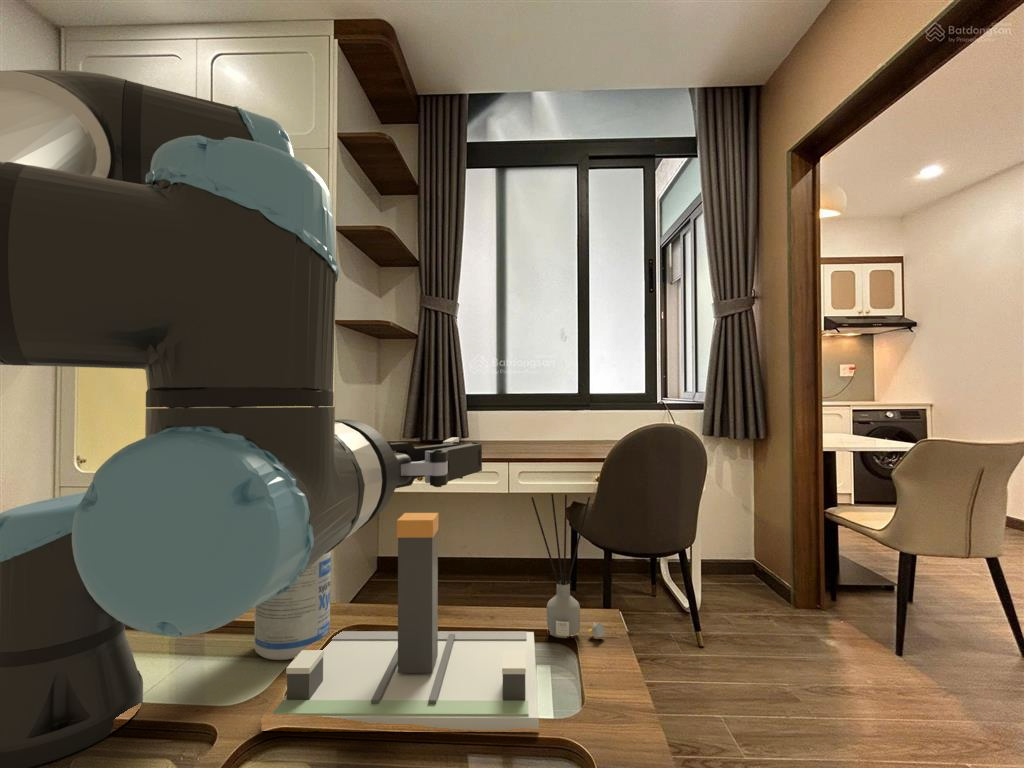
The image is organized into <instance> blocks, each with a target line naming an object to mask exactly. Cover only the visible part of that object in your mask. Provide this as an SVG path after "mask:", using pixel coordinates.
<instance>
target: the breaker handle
mask: <svg viewBox="0 0 1024 768" xmlns="http://www.w3.org/2000/svg"><path fill="white" fill-rule="evenodd" d="M439 519H440V518H439V512H404V513H402V515H401V516H400V517H399V518H398V519H396V538H397V631H398V673H432V672H433V669H434V666H435V663H436V660H437V657H438V631H439V627H438V626H439V625H438V624H439V619H438V618H439V617H438V616H439V615H438V611H439V610H438V609H439V605H438V600H439V598H438V595H439V593H438V590H439V589H438V588H439V587H438V585H439V582H438V579H439V578H438V574H439V566H438V565H439V561H438V558H439V557H438V553H439V552H438V551H439V549H438V545H439V544H438V541H439V539H438V537H439V536H438V533H439V528H440V527H439Z"/></svg>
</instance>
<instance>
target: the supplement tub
mask: <svg viewBox="0 0 1024 768" xmlns="http://www.w3.org/2000/svg"><path fill="white" fill-rule="evenodd" d="M331 552H332V550H331V551H330V552H328V553H326V554H324V555H323V556H321V557H320V558H319V559H318V560H317V561H316V562H315V563H314V564H313V565H311V566H310V567H309V568H308V569H307V570H306V571H305V572H304V573H303V574H301V575H300V576H299V578H298V580H297V581H296V582H295V583H294V584H293V585H292V586H291V587H290V588H288V590H286V591H285V592H283V593H281V594H280V595H278V596H276V597H275V598H273V599H272V600H271V601H270V600H266V601H264V602H262V603H261V604H259V605H257V606H256V607H254V641H253V642H254V643H253V644H254V645H253V646H254V650H255V652H256V654H258V655H259V656H261V657H262V658H264V659H268V660H274V661H286V660H291V659H292V660H294V659H295V658H294V657H295V656H297V655H298V654H299V653H300V652H301V651H302V650H303V649H305V648H306V647H307V646H309V645H311V644H312V643H314V642H316V641H318V640H320V639H322V638H323V637H324V636H325V635H326V634H327V633H328V631H329V629H330V627H331V626H330V624H331V622H330V621H331V620H330V619H331V571H332V570H331V568H332V566H331V565H332V563H331V561H332V559H331V558H332V554H331Z"/></svg>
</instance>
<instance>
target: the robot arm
mask: <svg viewBox="0 0 1024 768" xmlns="http://www.w3.org/2000/svg"><path fill="white" fill-rule="evenodd" d="M294 155H295V154H294V150H293V146H292V142H291V140H290V137H289V134H288V133H287V131H286V129H285V128H284V127H283V125H281V124H280V123H279V122H278V121H276V120H274V119H273V118H270V117H267V116H263V115H261V114H258V113H255V112H251V111H248V110H245V109H243V108H242V107H239V106H237V105H235V106H233V105H229V104H224V103H220V102H215V101H214V100H213V101H212V100H209V99H208V100H207V99H205V98H204V99H203V98H200V97H195V96H191V95H188V94H183V93H180V92H176V91H172V90H167V89H163V88H159V87H158V88H157V87H155V86H152V85H151V86H150V85H147V84H142V83H139V82H134V81H130V80H128V79H125V78H122V77H118V76H117V77H116V76H113V75H108V74H104V73H97V72H89V71H83V70H81V71H80V70H62V69H19V70H18V69H17V70H16V69H15V70H13V69H12V70H0V366H25V367H27V366H29V367H30V366H32V367H33V366H34V367H67V368H69V367H70V368H99V369H101V368H102V369H106V368H107V369H134V370H135V369H136V370H144V371H145V377H146V379H145V380H146V386H147V387H146V388H147V390H146V391H145V430H144V431H145V433H144V436H145V437H144V438H140V439H139V440H136V441H134V442H132V443H130V444H128V445H125V446H124V447H122V448H121V449H119V450H118V451H117V452H115V453H113V454H112V455H111V456H110V457H109V458H107V460H105V461H104V463H102V464H101V466H100V467H98V469H97V470H96V471H95V473H94V475H93V477H92V481H91V483H90V485H89V486H88V488H87V490H86V491H85V492H80V493H74V494H73V493H72V494H69V495H64V496H57V497H53V498H49V499H48V498H47V499H43V500H40V501H34V502H31V503H27V504H24V505H21V506H16V507H14V508H10V509H7V510H5V511H3V512H0V768H32V767H36V766H39V765H43V764H46V763H50V762H52V761H56V760H59V759H61V758H63V757H67V756H69V755H72V754H74V753H76V752H79V751H82V750H83V749H86V748H88V747H90V746H92V745H94V744H96V743H98V742H100V741H101V740H104V739H106V738H108V737H109V736H110V735H111V734H110V732H111V729H112V727H113V725H114V724H113V723H114V722H113V720H114V719H115V718H116V717H118V716H119V715H120V714H122V713H124V712H125V711H127V710H128V709H130V708H132V707H134V706H136V705H138V704H139V703H142V704H143V701H144V681H143V676H142V675H141V672H140V671H139V669H138V667H137V665H136V662H135V658H134V654H133V651H132V650H131V646H130V643H129V641H128V638H127V636H126V626H127V627H129V628H132V629H133V630H136V631H139V632H143V633H147V634H152V635H158V636H166V637H171V638H182V637H186V636H193V635H198V634H199V635H200V634H204V633H207V632H211V631H213V630H216V629H219V628H222V627H224V626H226V625H227V624H230V623H231V622H234V621H235V620H236V619H238V618H240V617H241V616H243V615H244V614H246V613H248V612H249V611H251V610H252V609H255V607H256V606H257V605H259V604H261V603H262V602H264V601H266V600H270V601H271V600H272V599H273V598H275V597H276V596H278V595H280V594H281V593H283V592H285V591H286V590H288V588H290V587H291V586H292V585H293V584H294V583H295V582H296V581H297V580H298V578H299V576H300V575H301V574H303V573H304V572H305V571H306V570H307V569H308V568H309V567H310V566H311V565H313V564H314V563H315V562H316V561H317V560H318V559H319V558H320V557H321V556H323V555H324V554H326V553H328V552H330V551H331V552H332V550H334V549H335V548H336V547H337V546H338V545H340V544H341V543H342V542H343V541H344V540H346V539H348V537H350V536H352V534H354V533H355V532H357V531H358V530H360V529H361V528H363V527H364V526H366V525H367V524H368V523H370V522H371V521H372V520H373V519H375V518H376V517H377V516H378V515H379V514H381V513H382V511H384V509H385V508H386V506H387V505H388V504H389V502H390V500H391V499H392V496H393V495H394V493H395V491H396V489H398V488H399V489H401V488H404V487H410V486H412V485H413V483H414V481H415V480H416V479H420V478H424V479H425V480H424V483H425V484H429V486H432V487H434V488H442V487H443V486H447V485H448V483H449V482H451V481H454V480H457V479H461V480H462V479H463V478H464V477H467V476H469V475H472V474H476V473H479V472H482V471H483V444H482V443H481V442H478V441H472V442H471V443H466V444H463V443H462V442H460V437H458V436H457V437H454V436H453V437H450V438H447V439H445V440H443V441H442V443H441V444H433V445H431V444H430V445H423V446H414V444H413V443H411V442H398V441H397V442H388V441H387V440H386V439H385V438H384V436H382V434H381V433H380V432H378V431H377V430H376V429H375V428H373V427H372V426H370V425H368V424H366V423H364V422H361V421H358V420H353V419H336V418H335V417H336V407H335V406H334V401H335V399H334V398H335V397H334V394H335V393H334V368H335V367H334V366H335V365H334V364H335V362H334V361H335V331H336V330H335V329H336V328H335V323H336V294H337V292H336V288H337V287H336V285H337V281H338V279H339V267H338V266H337V262H336V261H337V260H336V239H335V238H336V236H335V221H334V213H333V211H334V210H333V202H332V197H331V193H330V191H329V189H328V185H327V184H326V183H325V182H324V180H323V178H322V177H321V176H320V175H319V174H318V173H317V172H316V171H315V170H314V169H313V168H312V167H311V166H310V165H308V164H307V163H305V162H303V161H302V160H301V159H299V158H297V157H295V156H294ZM109 734H110V735H109ZM108 735H109V736H108Z"/></svg>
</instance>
